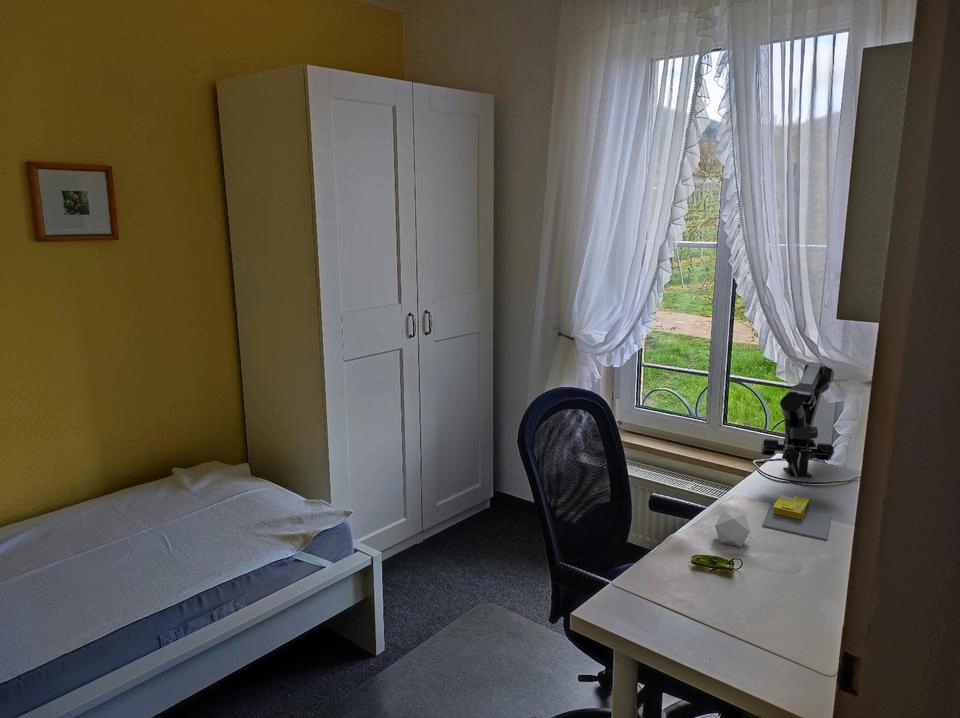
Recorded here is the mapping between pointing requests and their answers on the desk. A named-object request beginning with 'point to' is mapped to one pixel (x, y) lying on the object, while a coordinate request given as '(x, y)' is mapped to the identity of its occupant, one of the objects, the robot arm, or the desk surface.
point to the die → (732, 528)
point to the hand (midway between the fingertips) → (798, 476)
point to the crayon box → (791, 506)
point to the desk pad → (799, 524)
